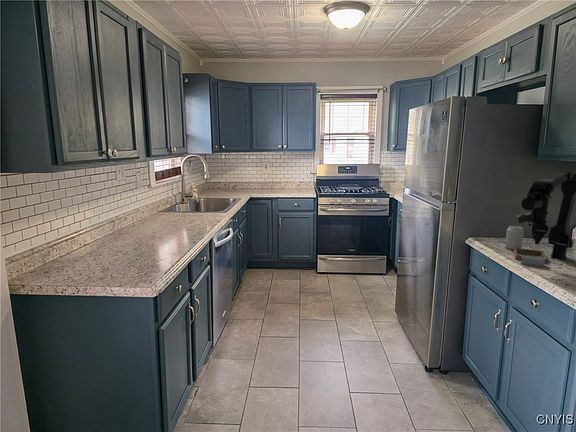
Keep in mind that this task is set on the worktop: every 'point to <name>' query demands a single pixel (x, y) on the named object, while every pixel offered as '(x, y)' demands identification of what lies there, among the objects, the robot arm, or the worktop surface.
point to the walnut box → (528, 253)
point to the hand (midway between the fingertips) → (535, 241)
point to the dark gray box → (532, 261)
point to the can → (514, 237)
